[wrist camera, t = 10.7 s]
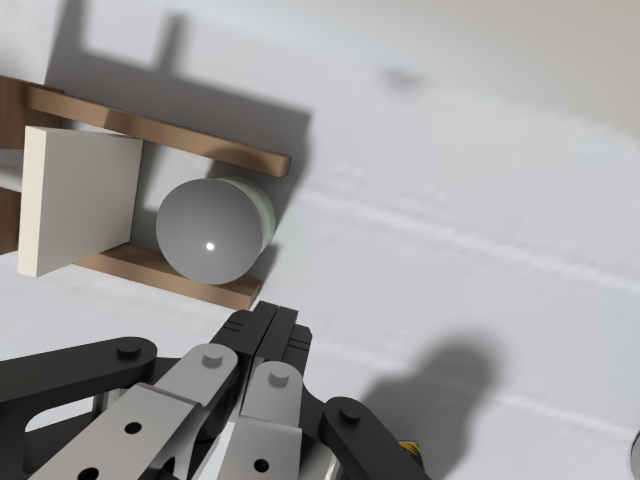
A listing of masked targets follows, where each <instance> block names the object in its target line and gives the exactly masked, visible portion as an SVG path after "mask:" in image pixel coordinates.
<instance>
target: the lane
mask: <svg viewBox="0 0 640 480" xmlns="http://www.w3.org/2000/svg"><path fill="white" fill-rule="evenodd" d="M62 117H65V118H68V119H72V120H76V121H79V122H83V123H86V124H90V125H94V126H97V127H101V128H104V129H108V130H111V131H115V132H119V133H122V134H126V135H129V136H133V137H137V138H140V139H144V140H147V141H151V142H154V143H158V144H162V145H165V146H169V147H172V148H176V149H180V150H183V151H187V152H190V153H194V154H198V155H201V156H205V157H208V158H212V159H215V160H219V161H223V162H226V163H230V164H233V165H237V166H241V167H244V168H248V169H251V170H255V171H259V172H262V173H266V174H269V175H273V176H276V177H282V176H285V175H287V174H288V170H289V166H290V162H291V158H292V157H289V156H285V155H281V154H278V153H274V152H271V151H267V150H263V149H260V148H256V147H253V146H249V145H245V144H242V143H238V142H235V141H231V140H228V139H224V138H220V137H217V136H213V135H210V134H206V133H202V132H199V131H195V130H192V129H188V128H184V127H181V126H177V125H174V124H170V123H166V122H163V121H159V120H156V119H152V118H148V117H145V116H141V115H138V114H134V113H131V112H127V111H123V110H120V109H116V108H113V107H109V106H105V105H102V104H98V103H95V102H91V101H87V100H84V99H80V98H77V97H73V96H69V95H66V94H64V91H63V90H59V89H56V88H52V87H48V86H45V85H41V84H37V83H32V82H28V81H24V80H20V79H15V78H11V77H7V76H3V75H0V149H24V146H25V128H26V126H35V127H45V128H55V129H61V124H62ZM21 197H22V193H21V192H17V191H14V190H10V189H6V188H3V187H0V255H3V254H6V253H10V252H13V251H17V250H18V249H19V232H20V215H21ZM72 264H74V265H78V266H81V267H85V268H89V269H92V270H96V271H99V272H103V273H106V274H110V275H113V276H117V277H121V278H124V279H128V280H131V281H135V282H138V283H142V284H145V285H149V286H153V287H156V288H160V289H163V290H167V291H170V292H174V293H177V294H181V295H185V296H188V297H192V298H195V299H199V300H202V301H206V302H209V303H213V304H217V305H220V306H224V307H227V308H231V309H234V310H238V311H239V310H241V309H245V310H248V311H249V309H250V308H251V306H252V304H253V303H254V301H255V300H256V298H257V296H258V294H259V289H260V285H261V281H259V280H256V279H252V278H249V277H245V276H240V277H239V278H237V279H235V280H233V281H231V282H228V283H224V284H216V285H210V284H203V283H198V282H195V281H193V280H190V279H188V278H186V277H185V276H183V275H182V274H180V273H179V272H178V271H176V270H175V269H174V268H173V267H172V266H171V265H170V264H169V262H168V261H167V260H166V258H165V257H164V255H163V253H160V252H156V251H152V250H149V249H145V248H142V247H138V246H135V245H131V244H128V243H123V244H121V245H118V246H116V247H113V248H110V249H108V250H105V251H103V252H100V253H98V254H95V255H93V256H90V257H88V258H85V259H82V260H80V261H77V262H75V263H72Z"/></svg>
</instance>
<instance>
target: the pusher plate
mask: <svg viewBox="0 0 640 480" xmlns="http://www.w3.org/2000/svg"><path fill="white" fill-rule="evenodd" d="M142 146H143V139H140V138H136V137H132V136H128V135H118V134H107V133H97V132H87V131H76V130H66V129H55V128H45V127H35V126H26V128H25V146H24V163H23V171H20V170H16V169H13V168H9V167H5V166H2V165H0V187H3V188H6V189H10V190H14V191H17V192H21V193H22V197H21V215H20V232H19V249H18V266H17V273H21V274H24V275H28V276H32V277H35V278H36V277H39V276H42V275H44V274H47V273H49V272H52V271H54V270H57V269H59V268H62V267H65V266H67V265H70V264H72V263H75V262H77V261H80V260H82V259H85V258H88V257H90V256H93V255H95V254H98V253H100V252H103V251H105V250H108V249H110V248H113V247H116V246H118V245H121V244H123V243H126V242H128V241H129V240H130V233H131V225H132V218H133V211H134V204H135V196H136V189H137V182H138V175H139V168H140V160H141V153H142Z"/></svg>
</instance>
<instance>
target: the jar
mask: <svg viewBox="0 0 640 480" xmlns="http://www.w3.org/2000/svg"><path fill="white" fill-rule="evenodd" d="M275 229H276V213H275V208H274V206H273V203H272V201H271V199H270V197H269V196H268V194H267V193H266V192H265V191H264V190H263V189H262V188H261V187H260V186H259V185H257V184H256V183H254V182H253V181H251V180H249V179H246V178H243V177H238V176H226V177H220V178H215V179H209V178H208V179H198V180H193V181H189V182H186V183H183V184H181V185H180V186H178V187H176V188H175V189H174V190H172V191H171V192H170V193H169V194H168V195H167V196H166V198H165V199H164V200H163V202H162V204H161V206H160V208H159V211H158V214H157V219H156V235H157V240H158V244H159V247H160V249H161V251H162V253H163V255H164V257H165V258H166V260H167V261H168V262H169V264H170V265H171V266H172V267H173V268H174V269H175V270H176V271H178V272H179V273H180V274H182V275H183V276H185V277H186V278H188V279H190V280H193V281H195V282H198V283H203V284H210V285H216V284H224V283H228V282H231V281H233V280H235V279H237V278H239V277H240V276H242V275H243V274H244V273H246V272H247V271H248V270H249V269H250V267H251V266H252V265H253V264H254V263H255V261H256V260H257V258H258V256H259V255H260V254H261V252H262V251H263V250H264V249H265V248H266V247H267V246H268V244H269V243H270V241H271V240H272V238H273V236H274V232H275Z"/></svg>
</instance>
